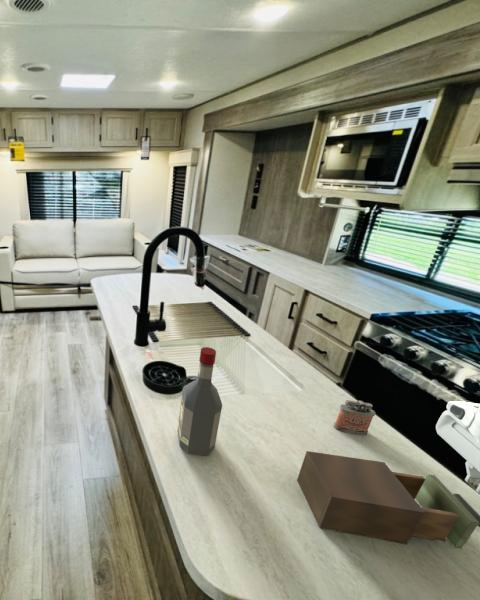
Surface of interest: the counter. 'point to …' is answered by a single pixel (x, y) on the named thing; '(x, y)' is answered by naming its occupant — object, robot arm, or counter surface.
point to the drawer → (440, 510)
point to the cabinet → (358, 497)
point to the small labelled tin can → (354, 417)
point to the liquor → (200, 409)
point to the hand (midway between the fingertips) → (476, 488)
